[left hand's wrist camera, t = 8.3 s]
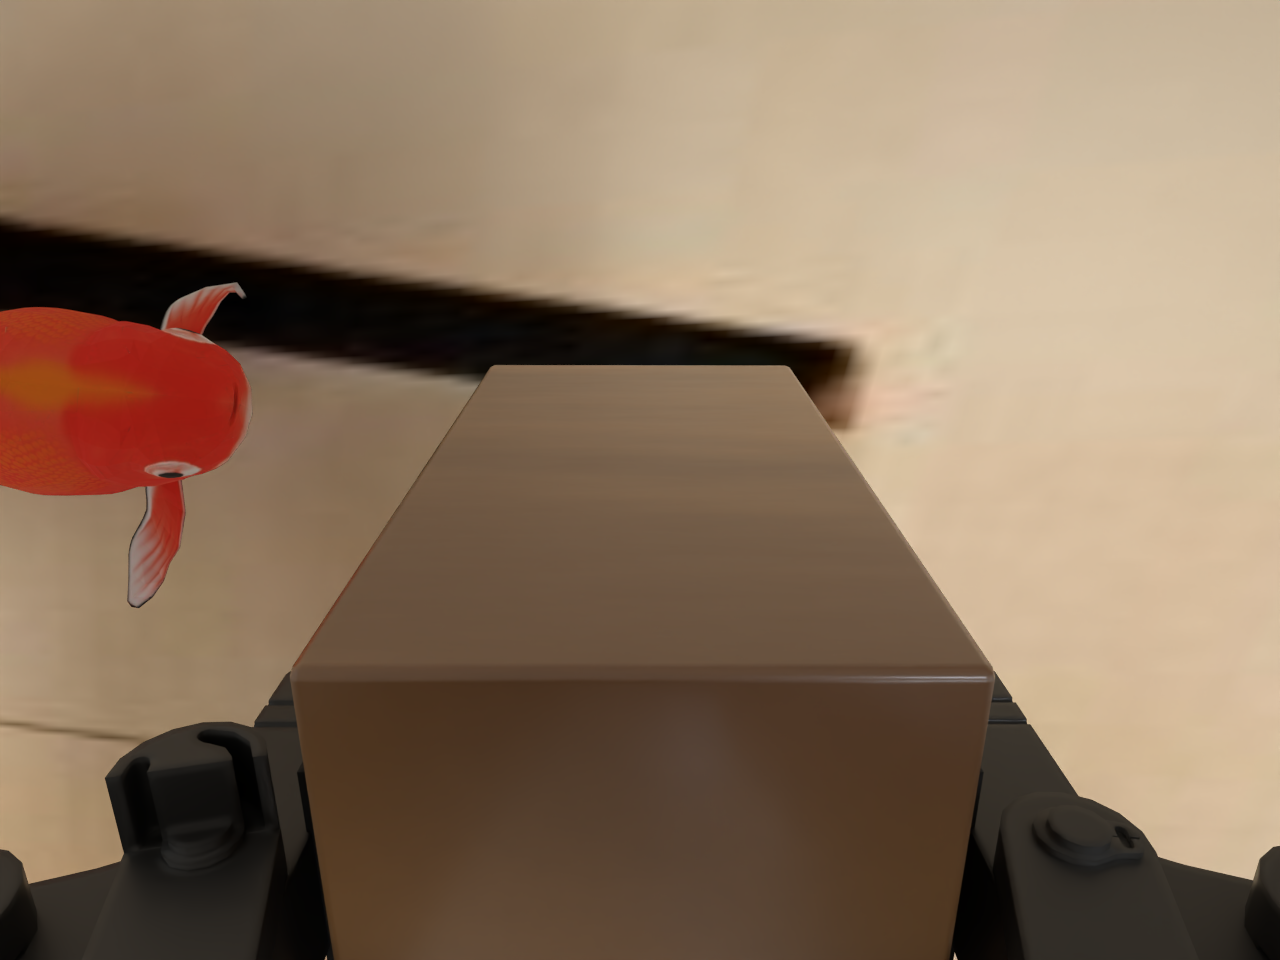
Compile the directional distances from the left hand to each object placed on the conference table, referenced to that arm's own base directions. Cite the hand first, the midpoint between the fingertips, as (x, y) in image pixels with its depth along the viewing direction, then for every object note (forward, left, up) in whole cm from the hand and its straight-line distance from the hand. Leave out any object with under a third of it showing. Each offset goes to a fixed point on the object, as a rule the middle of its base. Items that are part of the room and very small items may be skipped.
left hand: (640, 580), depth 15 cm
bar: (+6, +6, -1) cm, 8 cm away
